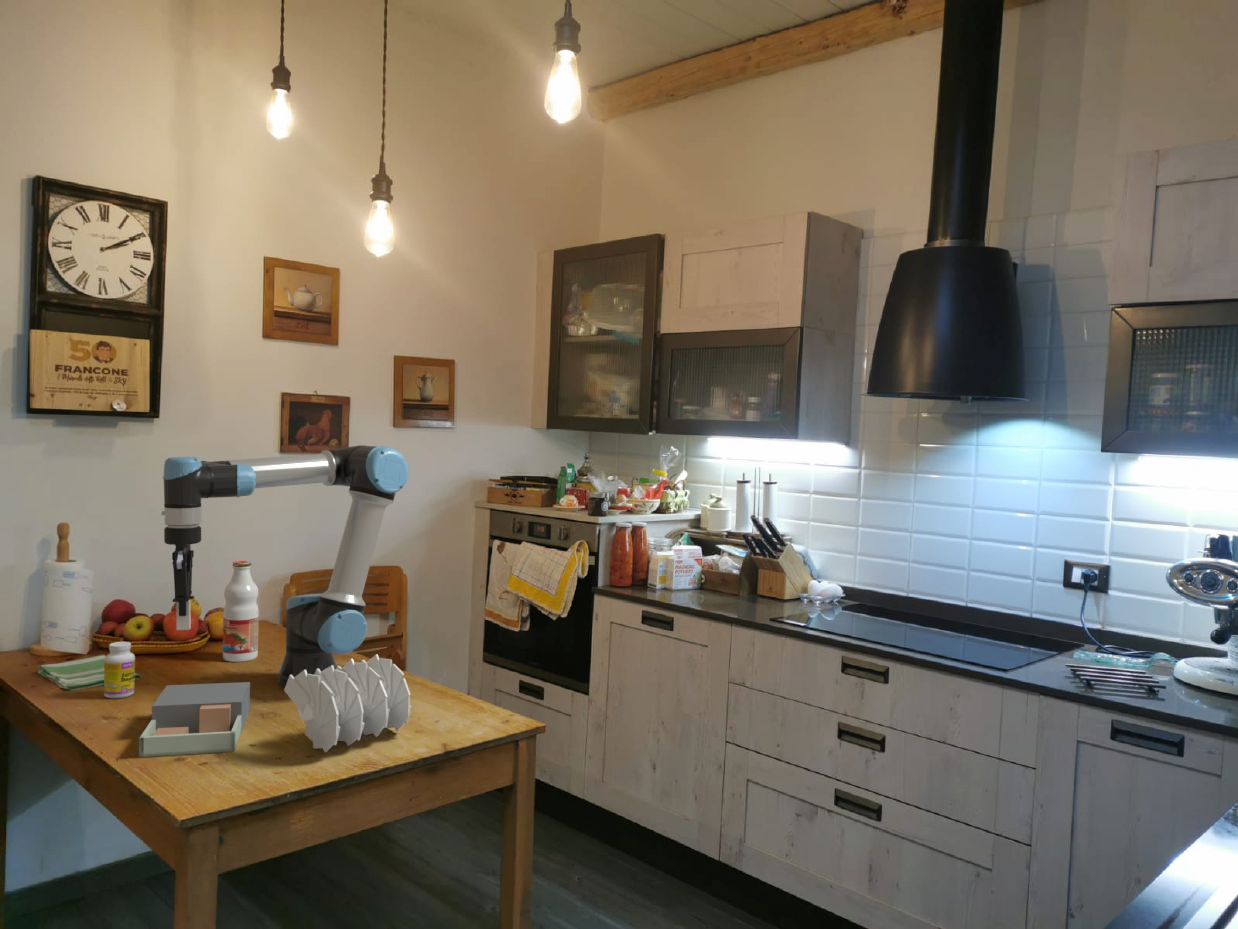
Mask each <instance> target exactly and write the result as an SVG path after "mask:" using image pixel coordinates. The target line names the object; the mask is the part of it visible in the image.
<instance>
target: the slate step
mask: <svg viewBox="0 0 1238 929" xmlns="http://www.w3.org/2000/svg"><path fill="white" fill-rule="evenodd" d="M250 698H251V682H250V681H247V682H246V681H245V682H221V683H219V682H218V683H192V684H171V685H170V684H169V685H166V686H165V688H164V689H163V690H162V691H161V693H160V694H159V696H158V697H157V699H156V700H155V701H154V703H153V704H152V705H151V720H156V730H157V729H158V728H173V727H189V733H199V714H200V707H201V706H205V705H225V704H231V730H232V728H233V725H234V723H235V721H236V718H237V716H238V715H242V718H241V733H242V732H243V729H244V727H245V725H246V721H247V719H248V716H249V713H250V706H251V703H250V702H251V699H250Z"/></svg>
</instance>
